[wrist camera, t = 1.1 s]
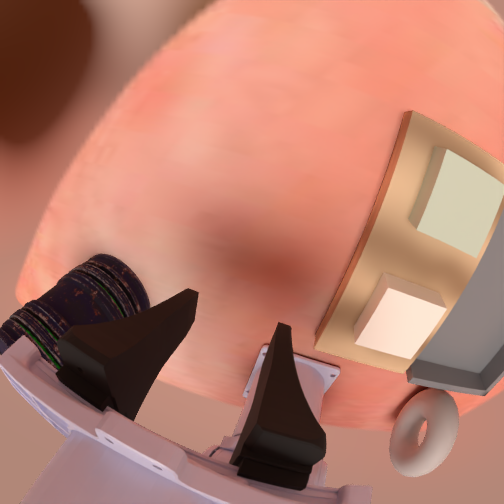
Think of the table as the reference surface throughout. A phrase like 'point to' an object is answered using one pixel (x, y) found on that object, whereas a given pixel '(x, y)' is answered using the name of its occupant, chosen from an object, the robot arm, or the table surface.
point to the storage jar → (76, 305)
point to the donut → (437, 434)
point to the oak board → (403, 243)
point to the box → (470, 332)
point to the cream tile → (398, 317)
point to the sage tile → (456, 202)
